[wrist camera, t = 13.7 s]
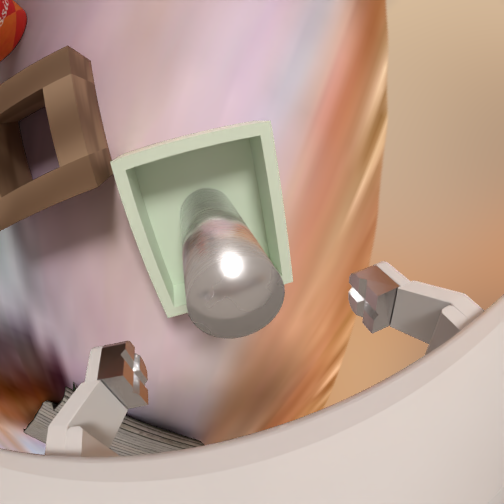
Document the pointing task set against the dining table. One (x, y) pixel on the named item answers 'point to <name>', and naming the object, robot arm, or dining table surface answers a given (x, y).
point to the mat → (127, 437)
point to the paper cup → (10, 26)
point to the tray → (197, 177)
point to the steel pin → (225, 269)
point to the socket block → (62, 130)
